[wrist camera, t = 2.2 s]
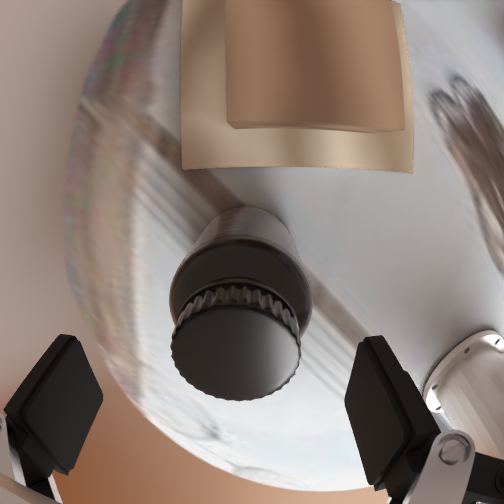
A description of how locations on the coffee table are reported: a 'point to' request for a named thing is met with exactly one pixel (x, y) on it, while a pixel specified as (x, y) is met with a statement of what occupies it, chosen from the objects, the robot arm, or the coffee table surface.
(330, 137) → the board
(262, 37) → the walnut block
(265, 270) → the supplement bottle
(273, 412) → the coffee table surface
